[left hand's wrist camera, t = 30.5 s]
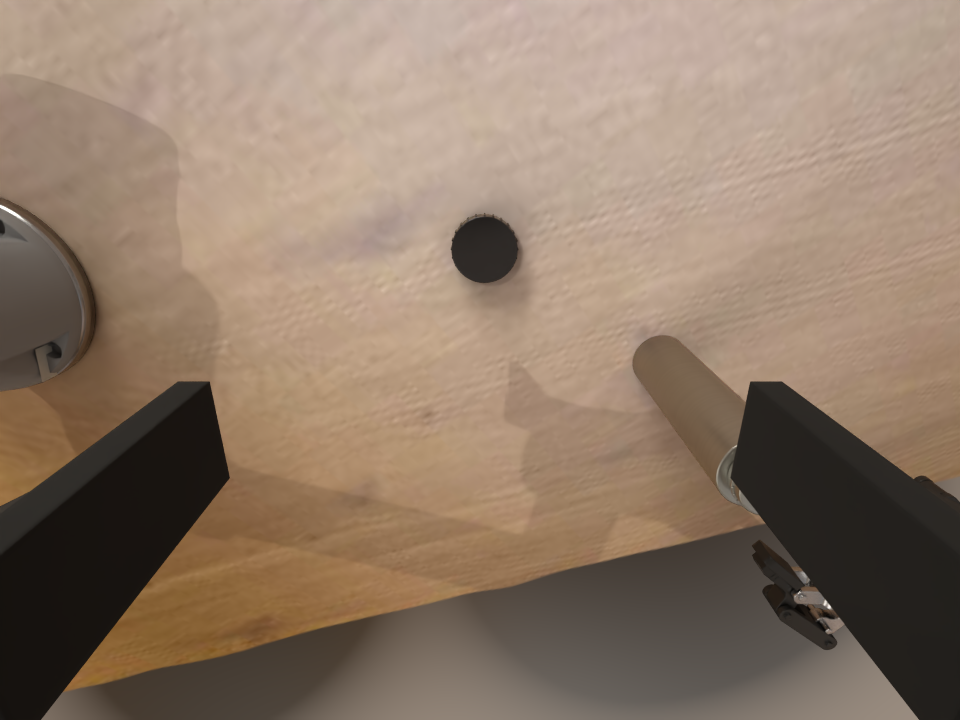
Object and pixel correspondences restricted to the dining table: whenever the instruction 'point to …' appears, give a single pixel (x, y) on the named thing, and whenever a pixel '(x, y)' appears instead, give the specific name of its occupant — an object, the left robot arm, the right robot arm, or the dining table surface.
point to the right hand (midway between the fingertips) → (810, 513)
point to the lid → (484, 248)
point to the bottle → (695, 408)
